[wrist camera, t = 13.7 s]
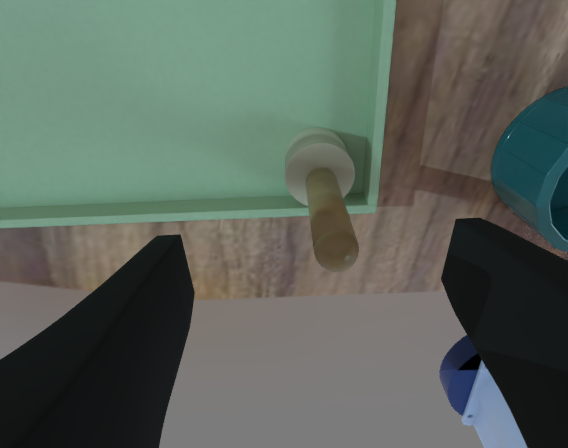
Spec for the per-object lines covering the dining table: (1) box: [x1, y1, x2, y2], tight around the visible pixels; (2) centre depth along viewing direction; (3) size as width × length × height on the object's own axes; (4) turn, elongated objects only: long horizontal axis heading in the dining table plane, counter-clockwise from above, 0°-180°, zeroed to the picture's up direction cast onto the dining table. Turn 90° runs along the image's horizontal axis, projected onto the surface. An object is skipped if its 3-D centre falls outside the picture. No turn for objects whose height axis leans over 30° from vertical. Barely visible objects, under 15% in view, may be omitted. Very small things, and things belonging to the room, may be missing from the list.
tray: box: [0, 0, 396, 228], centre depth 17 cm, size 13×25×2 cm, turn 93°
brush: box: [285, 127, 359, 272], centre depth 15 cm, size 3×3×9 cm
